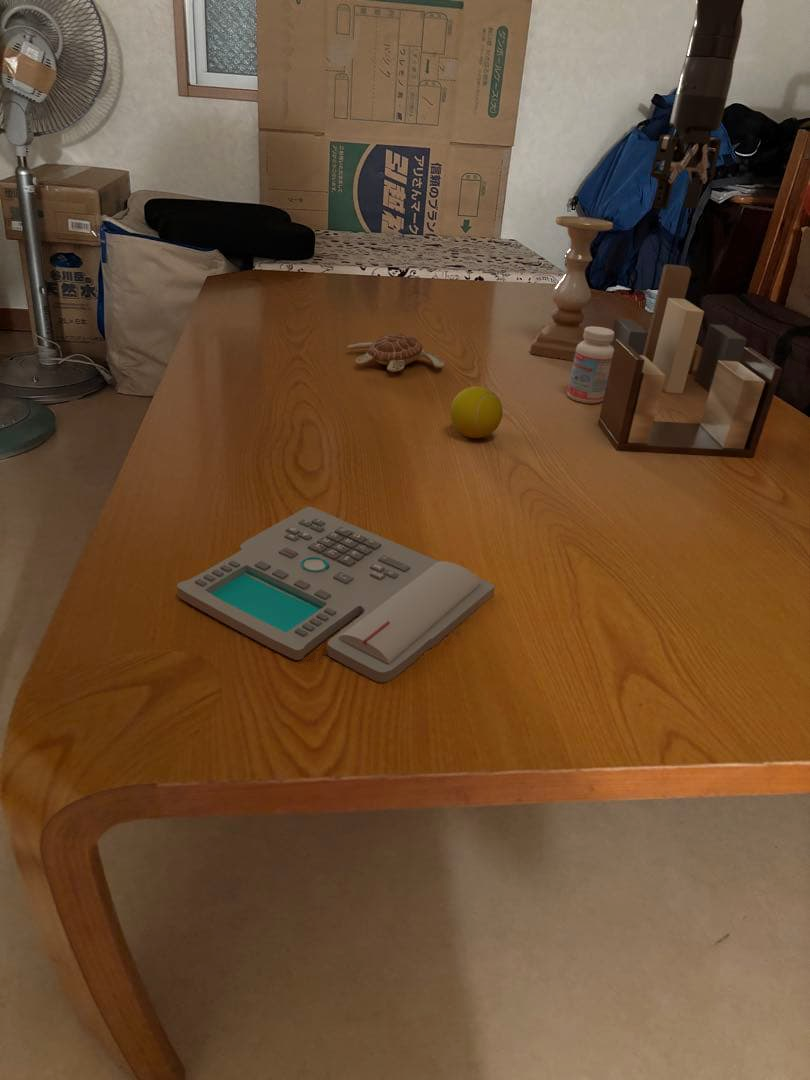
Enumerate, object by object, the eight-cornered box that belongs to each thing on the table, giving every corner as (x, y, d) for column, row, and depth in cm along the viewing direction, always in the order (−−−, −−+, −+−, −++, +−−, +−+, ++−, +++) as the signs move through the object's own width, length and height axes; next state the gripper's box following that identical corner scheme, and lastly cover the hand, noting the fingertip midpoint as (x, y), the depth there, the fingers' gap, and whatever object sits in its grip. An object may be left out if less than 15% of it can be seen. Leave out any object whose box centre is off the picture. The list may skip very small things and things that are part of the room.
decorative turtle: (459, 361, 140) (463, 334, 137) (423, 385, 126) (425, 355, 124) (370, 342, 146) (371, 316, 143) (326, 364, 132) (326, 335, 130)
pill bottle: (559, 393, 128) (571, 325, 122) (588, 390, 131) (601, 324, 125) (582, 406, 123) (596, 336, 118) (612, 402, 126) (627, 334, 120)
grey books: (710, 379, 142) (725, 325, 137) (730, 396, 134) (747, 339, 129) (603, 373, 140) (615, 317, 135) (617, 389, 132) (630, 331, 127)
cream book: (665, 377, 141) (684, 298, 134) (682, 393, 133) (704, 311, 126) (649, 376, 141) (667, 297, 134) (665, 392, 133) (686, 310, 126)
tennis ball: (438, 432, 109) (443, 384, 106) (473, 423, 113) (479, 377, 110) (472, 449, 105) (479, 400, 101) (508, 439, 109) (515, 391, 105)
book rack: (725, 431, 119) (750, 347, 112) (753, 457, 110) (782, 368, 103) (597, 424, 117) (616, 338, 111) (616, 450, 108) (637, 359, 102)
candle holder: (529, 354, 147) (550, 219, 135) (537, 340, 156) (558, 213, 144) (586, 363, 145) (613, 227, 133) (592, 348, 154) (617, 220, 142)
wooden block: (689, 366, 148) (715, 269, 139) (691, 373, 144) (718, 273, 135) (641, 360, 149) (664, 263, 140) (642, 367, 146) (665, 267, 137)
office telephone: (499, 572, 73) (376, 680, 58) (495, 595, 74) (374, 706, 60) (309, 494, 83) (163, 569, 69) (308, 515, 85) (165, 593, 70)
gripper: (697, 91, 111) (670, 213, 119) (748, 98, 119) (719, 211, 127) (653, 89, 116) (630, 206, 124) (705, 95, 124) (680, 204, 132)
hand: (675, 208), depth 126 cm, fingers open, 8 cm apart
